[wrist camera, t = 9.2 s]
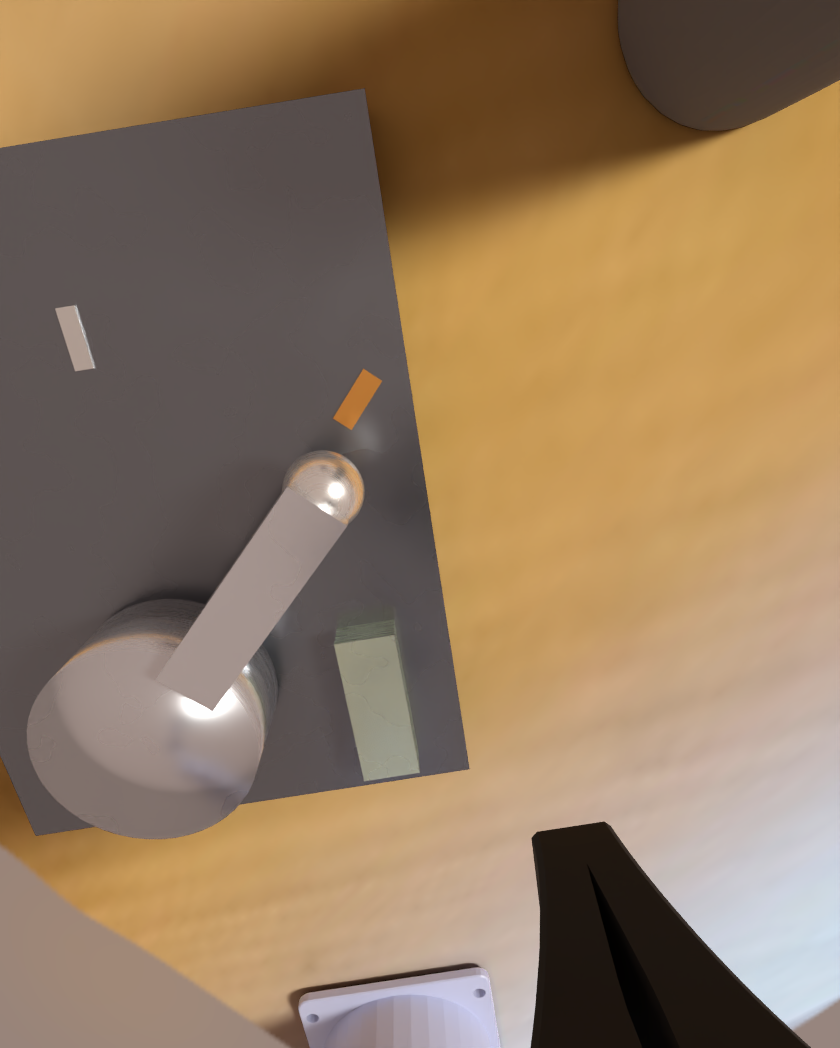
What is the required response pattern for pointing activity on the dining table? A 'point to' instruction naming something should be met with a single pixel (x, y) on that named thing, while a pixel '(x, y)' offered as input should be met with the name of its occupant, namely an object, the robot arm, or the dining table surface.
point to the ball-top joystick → (187, 678)
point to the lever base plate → (216, 424)
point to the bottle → (729, 56)
